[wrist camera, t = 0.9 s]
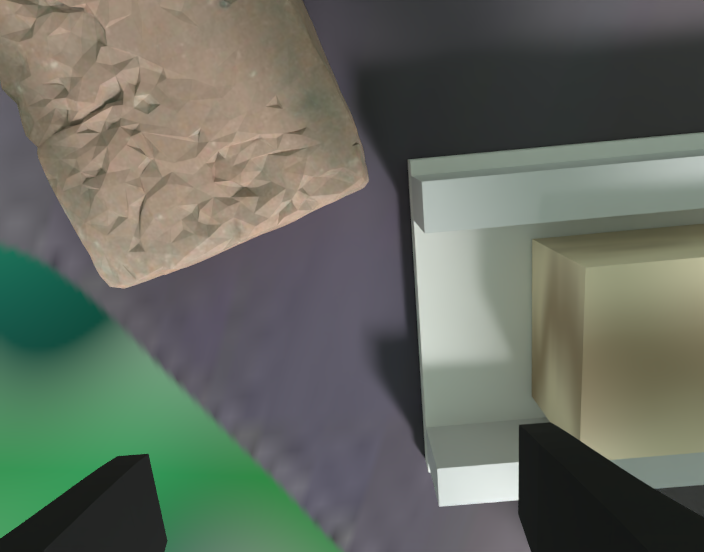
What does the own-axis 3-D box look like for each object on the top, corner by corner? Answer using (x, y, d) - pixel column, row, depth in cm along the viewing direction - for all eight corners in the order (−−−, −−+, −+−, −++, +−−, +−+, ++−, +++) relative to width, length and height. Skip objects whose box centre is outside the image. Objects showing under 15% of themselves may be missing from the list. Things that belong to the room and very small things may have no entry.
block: (747, 377, 19) (851, 439, 15) (531, 396, 19) (579, 462, 15) (767, 217, 17) (890, 240, 13) (532, 239, 17) (585, 267, 13)
